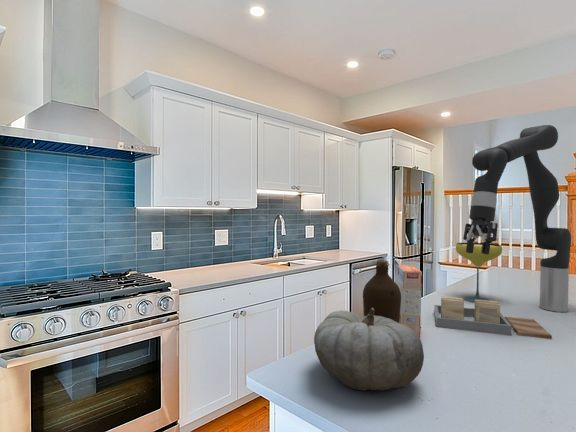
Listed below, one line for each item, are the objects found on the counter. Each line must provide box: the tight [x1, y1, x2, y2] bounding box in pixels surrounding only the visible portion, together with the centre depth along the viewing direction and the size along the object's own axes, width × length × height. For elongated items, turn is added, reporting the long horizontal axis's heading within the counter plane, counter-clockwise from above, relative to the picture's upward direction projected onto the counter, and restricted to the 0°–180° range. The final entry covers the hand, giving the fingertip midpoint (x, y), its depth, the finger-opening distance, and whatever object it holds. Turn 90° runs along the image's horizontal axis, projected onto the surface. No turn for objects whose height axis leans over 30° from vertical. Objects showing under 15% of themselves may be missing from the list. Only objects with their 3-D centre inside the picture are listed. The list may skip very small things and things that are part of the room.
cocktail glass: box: [455, 242, 503, 304], centre depth 154 cm, size 18×18×25 cm
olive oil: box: [362, 259, 401, 323], centre depth 99 cm, size 11×11×25 cm
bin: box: [433, 304, 513, 336], centre depth 123 cm, size 18×22×3 cm
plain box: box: [440, 296, 465, 320], centre depth 124 cm, size 5×7×8 cm
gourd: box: [313, 308, 425, 392], centre depth 81 cm, size 25×25×17 cm
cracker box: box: [397, 264, 423, 339], centre depth 114 cm, size 14×6×21 cm, turn 168°
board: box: [504, 315, 553, 340], centre depth 117 cm, size 18×9×1 cm, turn 159°
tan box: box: [473, 300, 501, 324], centre depth 121 cm, size 5×7×8 cm
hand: (476, 253), depth 117 cm, fingers open, 8 cm apart
